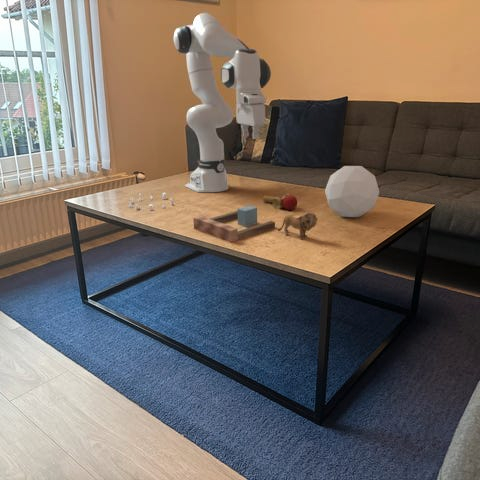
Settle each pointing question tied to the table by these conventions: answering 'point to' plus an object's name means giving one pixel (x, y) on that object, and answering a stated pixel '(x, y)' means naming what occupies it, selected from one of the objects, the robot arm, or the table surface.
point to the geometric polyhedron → (352, 191)
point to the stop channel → (228, 227)
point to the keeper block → (247, 216)
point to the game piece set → (150, 204)
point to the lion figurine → (300, 223)
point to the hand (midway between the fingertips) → (250, 137)
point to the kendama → (282, 201)
